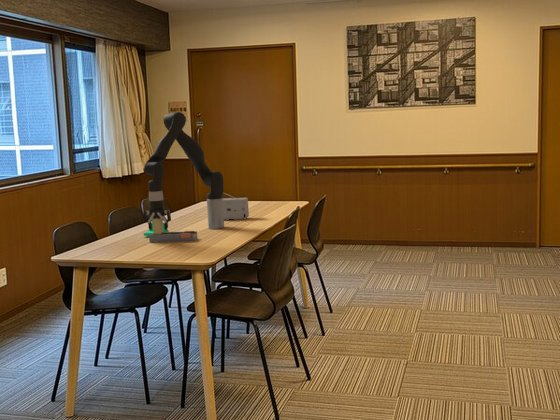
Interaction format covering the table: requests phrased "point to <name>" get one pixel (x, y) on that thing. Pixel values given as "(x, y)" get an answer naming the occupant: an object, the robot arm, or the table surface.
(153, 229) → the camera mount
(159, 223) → the tan upright block
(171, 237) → the rail
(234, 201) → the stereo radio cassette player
